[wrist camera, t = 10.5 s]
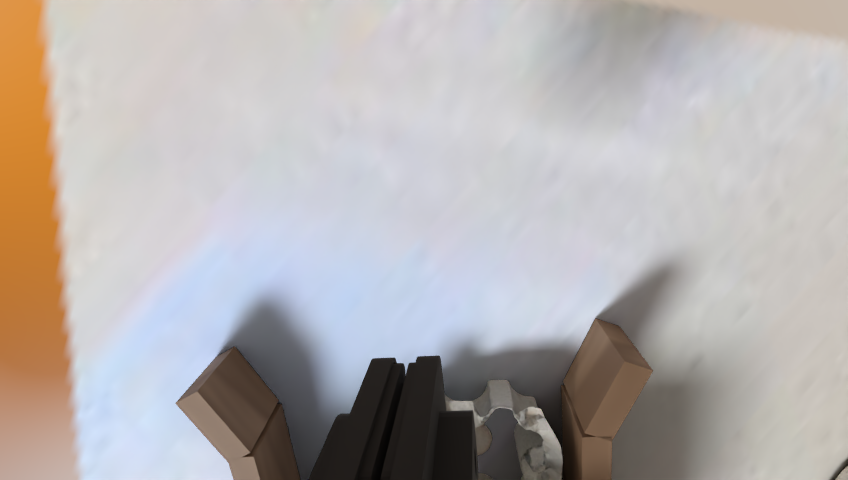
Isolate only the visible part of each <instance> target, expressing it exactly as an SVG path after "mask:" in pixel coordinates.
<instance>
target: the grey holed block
mask: <svg viewBox="0 0 848 480" xmlns="http://www.w3.org/2000/svg"><path fill="white" fill-rule="evenodd" d="M445 402H446V411H462V410H473V413H474V422H475V433H476V445H477V456H479V455H481V454H483V453H485V452H486V451H487V450H488V449H489V448H490V445H491V442H492V434H491V432H490V430H489V428H488V427H487V426H485V425H484V423H485V422H486V421H487V420H488V419H489V417H490V415H492V413H493V411H494V410H495V409H497V408H507V409H510V410H512V411H513V414H514V417H515V418H516V419H517V421H518V423H517V425H516V427H515V430H514V438H515V443H516V448H517V453H518V458H519V463H520V468H521V471H522V473H523V476H522V477H521V478H520V480H562V464H563V457H562V451H561V446H560V444H559V442H558V439H557V437H556V436H555V434H554V432H553V430H552V429H551V427H550V425H549V424H548V422H547V420H546V419H545V417H544V414H543V412H542V410H541V409H539V408H538V407H537V404H536V400H535V398H534V397H532V396H524V395H521V394H519V393H517V392H516V391H515V390H514V389H513V388H512V387H511V385H510V383H509V381H507V380H490V381H488V382H487V387H486V389H485V391H484V393H483V394H482V395H481V396H480V397H479V398H477V399H475V400H472V401H454V400H452V399H450V398H448V397H447V396H446V395H445ZM478 480H493V479H492V478H491V477H489V476H488V475H486V474H483V473H478Z"/></svg>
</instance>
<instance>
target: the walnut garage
mask: <svg viewBox="0 0 848 480" xmlns="http://www.w3.org/2000/svg"><path fill="white" fill-rule="evenodd" d="M652 372H653V370H652V369H651V367H650V366H649V365H648V363H647V362H646V361H645V359H644V358H643V357H642V355H641V354H640V353H639V351H638V350H637V349H636V347H635V346H634V345H633V343H632V342H631V341H630V340H629V338H628V337H627V336H626V334H625V333H624V332H623V330H622V329H621V328H620V326H617V325H614V324H611V323H608V322H605V321H602V320H599V319H596V318H595V320H594V322H593V324H592V326H591V328H590V330H589V332H588V334H587V336H586V337H585V339H584V341H583V343H582V345H581V347H580V349H579V351H578V353H577V355H576V357H575V359H574V361H573V363H572V365H571V367H570V369H569V370H568V372H567V374H566V376H565V378H564V380H563V382H564V385H561V404H562V447H563V480H611V469H612V440H613V438H614V437H615V435H616V433H617V431H618V430H619V428H620V426H621V425H622V423H623V421H624V420H625V418H626V416H627V414H628V413H629V411H630V409H631V408H632V406H633V404H634V402H635V401H636V399H637V397H638V396H639V394H640V392H641V391H642V389H643V387H644V385H645V384H646V382H647V380H648V379H649V377H650V375H651V373H652ZM278 401H279V400H278V399H277V397H276V396H275V395H274V394H273V393H272V391H271V390H270V389H269V388H268V386H267V385H266V384H265V383H264V382H263V380H262V379H261V378H260V377H259V375H258V374H257V373H256V372H255V370H254V369H253V368H252V367H251V366H250V364H249V363H248V362H247V361H246V359H245V358H244V357H243V356H242V355H241V353H240V352H239V351H238V350H237V348H236V347H233V348H231V349H229V350H227V351H226V352H224V353H222V354H220V355H219V356H217V357H216V358H215V359H214V360H213V361H212V362H211V363H210V364H209V366H208V367H207V368H206V369H205V370H204V371H203V372H202V374H201V375H200V376H199V377H198V378H197V379H196V380H195V382H194V383H193V384H192V385H191V386H190V387H189V388H188V390H187V391H186V392H185V393H184V394H183V395H182V396H181V398H180V399H179V400H178V401H177V402H176V404H177V406H178V407H179V408H180V409H181V410H182V411H183V412H184V413H185V415H186V416H187V417H188V418H189V419H190V420H191V421H192V422H193V424H194V425H195V426H196V427H197V428H198V429H199V430H200V431H201V432H202V434H203V435H204V436H205V437H206V438H207V439H208V440H209V441H210V443H211V444H212V445H213V446H214V447H215V448H216V449H217V450H218V452H219V453H220V454H221V455H222V456H223V457H224V458H225V459H226V460H227V462H228V463H229V466H230V469H231V472H232V476H233V479H234V480H300V476H299V472H298V468H297V464H296V460H295V456H294V452H293V448H292V444H291V440H290V436H289V432H288V428H287V424H286V420H285V416H284V412H283V407H282V404H277V403H278Z"/></svg>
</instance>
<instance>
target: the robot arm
mask: <svg viewBox="0 0 848 480" xmlns="http://www.w3.org/2000/svg"><path fill="white" fill-rule="evenodd" d="M308 480H478V460H477V445H476V433H475V422H474V413H473V410H462V411H446V402H445V393H444V384H443V375H442V366H441V359H440V356H420V357H417V360H416V363H409V365H408V369H407V373H406V374H405V367H404V364H403V363H397V362H396V359H395V358H375V359H372V360H371V363H370V365H369V367H368V370H367V372H366V375H365V377H364V380H363V382H362V385H361V387H360V390H359V392H358V395H357V397H356V400H355V402H354V405H353V407H352V410H351V412H350V414H339V415H338V416H337V417H336V419H335V421H334V423H333V425H332V427H331V430H330V432H329V434H328V436H327V439H326V441H325V443H324V446H323V448H322V450H321V452H320V455H319V457H318V459H317V461H316V464H315V466H314V468H313V470H312V473H311V475H310V477H309V479H308ZM835 480H848V466H847V467H845V468H844V469H843V470H842V472H841V473H840V474H839V475H838V477H837V478H836V479H835Z"/></svg>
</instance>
